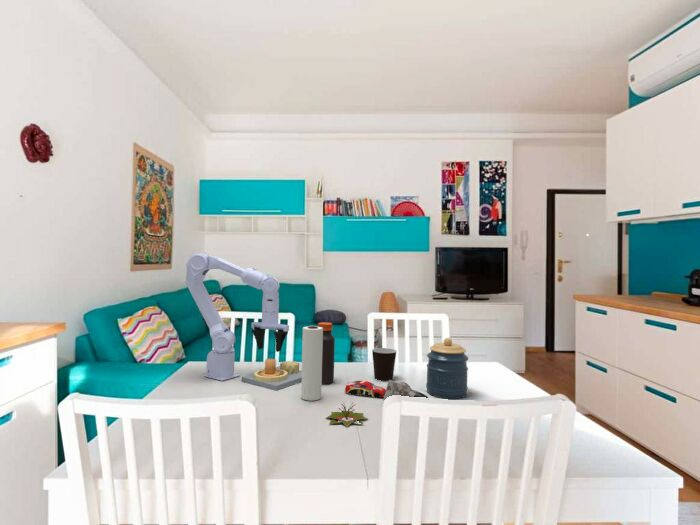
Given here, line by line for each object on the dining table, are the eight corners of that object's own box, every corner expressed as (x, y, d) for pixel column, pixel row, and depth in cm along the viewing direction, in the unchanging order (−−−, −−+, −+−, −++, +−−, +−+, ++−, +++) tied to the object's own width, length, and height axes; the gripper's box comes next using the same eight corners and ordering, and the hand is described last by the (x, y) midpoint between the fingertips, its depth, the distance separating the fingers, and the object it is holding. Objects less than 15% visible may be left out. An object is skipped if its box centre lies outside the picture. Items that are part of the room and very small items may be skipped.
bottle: (321, 386, 140) (323, 325, 140) (309, 381, 145) (311, 322, 145) (337, 382, 145) (339, 323, 145) (325, 378, 150) (326, 321, 150)
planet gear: (255, 377, 143) (255, 360, 142) (269, 373, 148) (269, 356, 148) (270, 381, 139) (271, 363, 139) (284, 377, 144) (285, 359, 144)
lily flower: (325, 412, 118) (326, 395, 118) (369, 413, 118) (369, 396, 118) (322, 429, 106) (322, 410, 106) (370, 430, 106) (370, 412, 106)
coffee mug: (388, 383, 145) (389, 354, 145) (366, 379, 150) (367, 350, 149) (403, 376, 155) (404, 348, 155) (382, 372, 159) (383, 345, 159)
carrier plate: (241, 381, 143) (241, 368, 143) (279, 370, 159) (280, 358, 159) (276, 390, 134) (276, 376, 134) (313, 377, 150) (313, 364, 150)
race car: (388, 395, 134) (388, 382, 134) (384, 400, 129) (384, 387, 128) (348, 389, 138) (349, 377, 138) (343, 394, 133) (343, 382, 133)
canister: (440, 384, 146) (442, 333, 145) (475, 393, 136) (476, 338, 136) (417, 392, 136) (419, 337, 136) (453, 402, 127) (454, 343, 127)
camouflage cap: (427, 411, 126) (419, 417, 117) (392, 397, 131) (382, 402, 122) (433, 389, 127) (426, 393, 118) (398, 376, 131) (388, 379, 122)
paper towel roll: (316, 402, 124) (317, 329, 124) (297, 399, 126) (299, 327, 126) (325, 395, 131) (327, 325, 131) (308, 392, 133) (309, 324, 133)
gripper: (246, 311, 149) (245, 349, 149) (281, 314, 143) (280, 354, 143) (258, 309, 155) (257, 346, 156) (292, 312, 149) (291, 350, 150)
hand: (269, 350), depth 150 cm, fingers open, 7 cm apart
